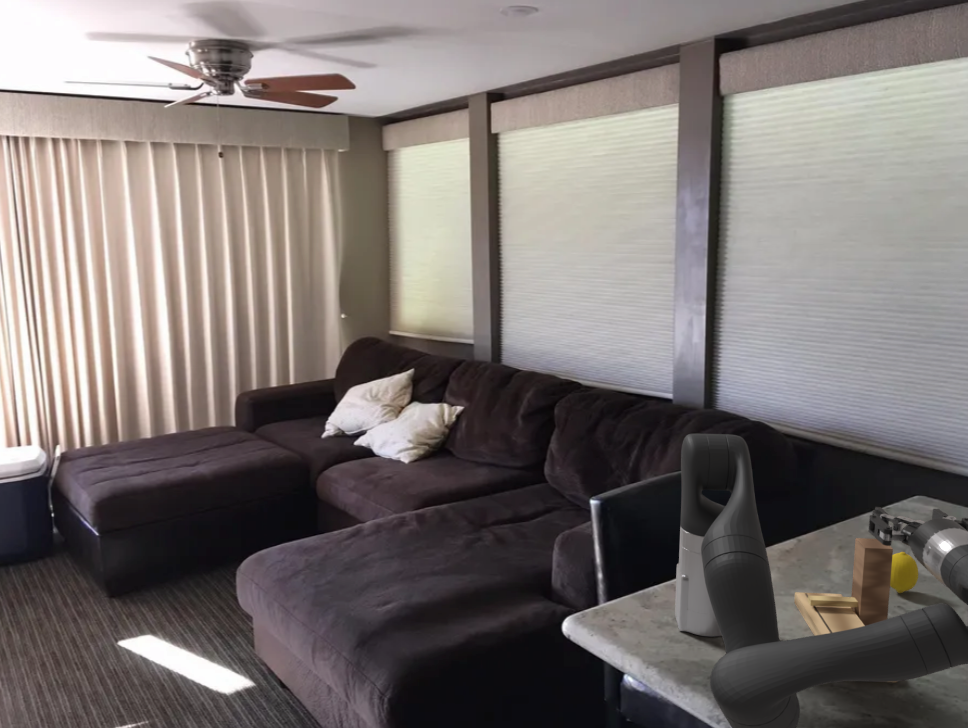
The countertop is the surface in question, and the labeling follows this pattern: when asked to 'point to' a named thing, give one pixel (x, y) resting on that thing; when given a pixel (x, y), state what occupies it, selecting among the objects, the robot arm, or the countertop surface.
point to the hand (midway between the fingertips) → (905, 513)
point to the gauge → (866, 583)
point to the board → (826, 615)
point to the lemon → (903, 572)
